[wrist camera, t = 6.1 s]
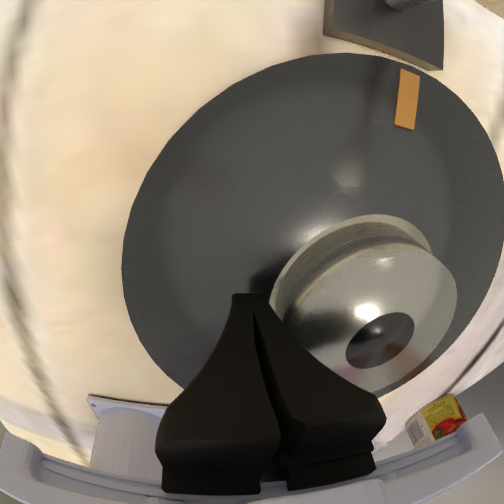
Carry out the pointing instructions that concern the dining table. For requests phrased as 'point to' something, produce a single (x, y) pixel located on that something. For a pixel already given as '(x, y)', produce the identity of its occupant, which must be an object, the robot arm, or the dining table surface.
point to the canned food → (435, 421)
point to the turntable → (306, 195)
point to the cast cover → (367, 303)
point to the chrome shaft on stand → (395, 26)
